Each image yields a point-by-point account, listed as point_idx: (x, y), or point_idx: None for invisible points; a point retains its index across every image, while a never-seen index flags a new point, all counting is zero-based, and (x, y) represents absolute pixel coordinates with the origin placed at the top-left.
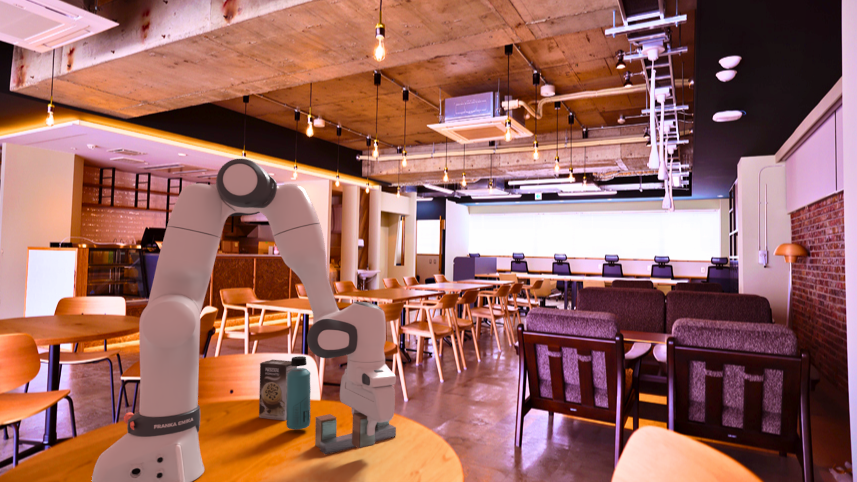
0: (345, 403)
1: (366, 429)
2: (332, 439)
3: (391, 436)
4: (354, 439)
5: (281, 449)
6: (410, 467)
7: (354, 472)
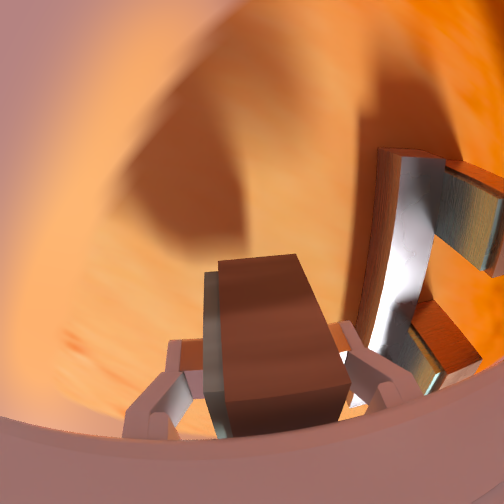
0: (484, 377)
1: (187, 359)
2: (426, 209)
3: None
4: (275, 274)
5: (489, 59)
6: (107, 349)
7: (137, 182)
